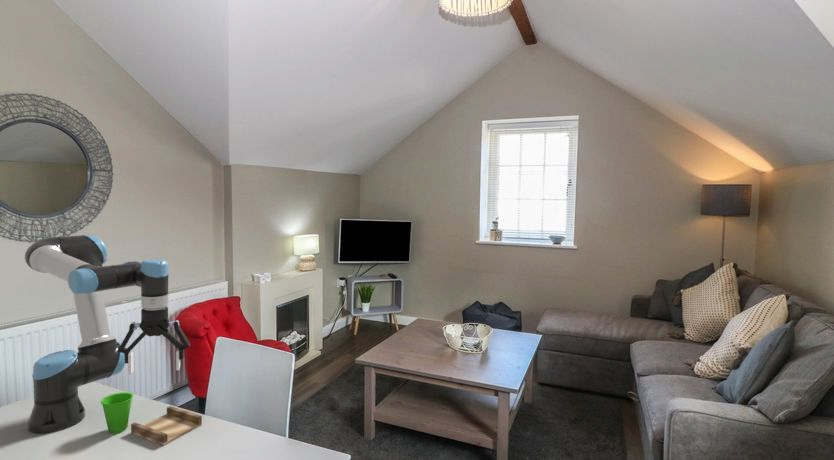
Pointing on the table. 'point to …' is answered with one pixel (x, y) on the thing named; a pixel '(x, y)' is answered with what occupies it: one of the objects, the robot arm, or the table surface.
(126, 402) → the cup
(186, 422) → the wooden tray
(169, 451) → the table surface
